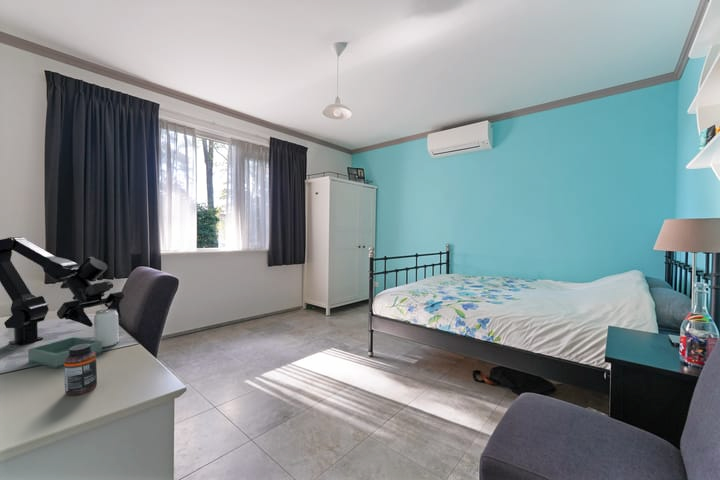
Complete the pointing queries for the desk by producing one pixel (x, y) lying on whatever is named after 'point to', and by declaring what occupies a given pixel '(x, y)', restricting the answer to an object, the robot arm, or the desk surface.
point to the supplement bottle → (80, 370)
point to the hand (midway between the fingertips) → (106, 321)
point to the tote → (59, 351)
